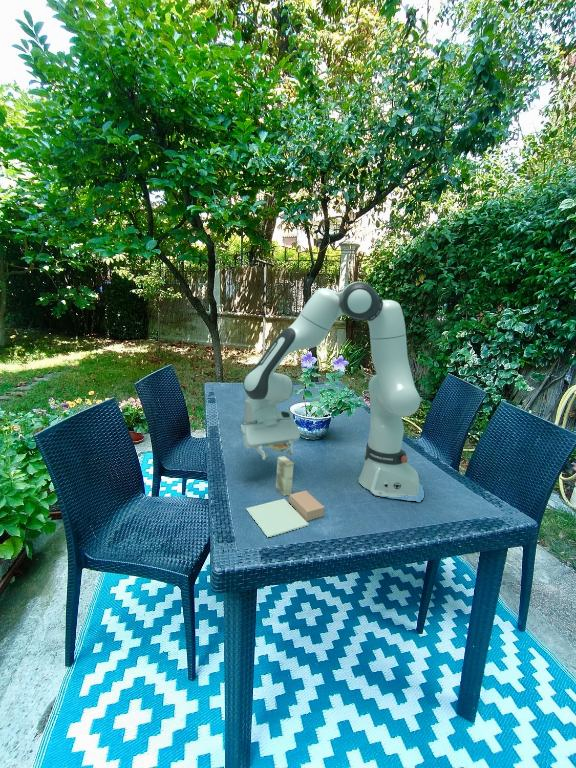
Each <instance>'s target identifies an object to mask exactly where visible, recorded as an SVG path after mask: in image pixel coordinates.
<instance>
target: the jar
mask: <svg viewBox="0 0 576 768" xmlns="http://www.w3.org/2000/svg"><path fill="white" fill-rule="evenodd" d="M243 413H244V414H243V423H244V422H250V421H254V418H253V414H252V408H251V406H250V404H249V401H248V397H247V396H246V398H244V412H243Z"/></svg>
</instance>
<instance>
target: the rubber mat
mask: <svg viewBox="0 0 576 768" xmlns="http://www.w3.org/2000/svg"><path fill="white" fill-rule="evenodd" d="M245 510H247V511H248V512H249V514H250V515H251V516H252V518H253V519H254V520H255V522H256V523H257V524H258V526H259V527H260V528H261V529H262V531H263V532H264V534H265V535H266V536H267V538H268V537H272V536H275V537H277V536H276V535H278V536H280V535H279V534H281V535H284V534H286V532H288V533H290V532H289V531H291V532H293V531H292V530H294V531H297V530H300V529H303V527H304V528H307V527H309V526H310V525H309V524H310V523H309V522H308V521H306V520H305V519H304V518H303V517H302V516H301V515H300V514H299V513H298V512H297V511H296V510H295V509H294V508H293V507H292V506H291V505H290V504H289V501H287V500H286V499H285V498H282V499H278V500H274V501H269V502H266V503H262V504H261V503H260V504H258V505H254V506H250V507H246V508H245ZM247 511H246V512H247ZM248 512H247V513H248ZM249 514H248V515H249ZM250 515H249V516H250ZM251 516H250V517H251ZM252 518H251V519H252ZM253 519H252V520H253ZM254 520H253V521H254ZM255 522H254V523H255ZM256 523H255V524H256ZM257 524H256V525H257ZM258 526H257V527H258ZM306 526H307V527H306ZM259 527H258V528H259ZM260 528H259V529H260ZM299 528H300V529H299ZM296 529H297V530H296ZM262 531H261V532H262ZM263 532H262V533H263ZM283 533H284V534H283ZM264 534H263V535H264ZM265 535H264V536H265ZM266 536H265V537H266ZM267 538H266V539H267ZM272 538H273V537H272ZM268 539H269V538H268Z"/></svg>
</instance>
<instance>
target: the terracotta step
mask: <svg viewBox="0 0 576 768" xmlns="http://www.w3.org/2000/svg"><path fill="white" fill-rule="evenodd" d="M288 497H289V498H288V503H290V504H291V506H293V507H294V508H295V509H296V511H297V512H298V513H299V514H300V515H301V517H302V518H303V519H304V520H305V521H306V522H309V521H312V519H313V520H315V518H316V519H319V518H322V516H323V517H324V513H325V506H324V505H323V504H321V502H319V501H318V500H317V499H316V498H315V497H314V496H313V495H311V494H310V492H308V491H307V490H302V491H299V492H294V493H291V494H290V495H288ZM318 517H319V518H318Z"/></svg>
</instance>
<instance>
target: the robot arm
mask: <svg viewBox="0 0 576 768" xmlns="http://www.w3.org/2000/svg"><path fill="white" fill-rule="evenodd" d="M344 315H345V316H348V317H350V318H352V319H354V320H360V321H361V320H362V321H366V322H367V325H368V328H369V339H370V350H371V352H370V353H371V361H372V364H373V366H374V370H375V373H376V374H374V375H373V376H372V377H371V378H370V380H369V382H368V386H367V389H368V392H369V408H370V409H369V410H370V411H369V412H370V426H369V427H370V428H369V435H368V442H367V444H366V446H365V452H364V464H363V465H362V466H363V468H362V469H361V473H360V475H359V477H358V479H359V481H358V483H360V484H361V485H362V486H363V487H365V488H367V489H369V490H370V491H371V492H372V493H373V494H374V495H378V496H389V497H401V496H402V495H403V496H404V495H408V496H417V495H418V493H419V482H420V477H419V474H418V471H417V470H416V469H415V468H414V467H413V466H411V465H410V463H408V461H409V460H408V459H409V458H408V456H407V453H406V450H405V449H402V446H403V445H402V444H403V438H404V433H405V427H404V423H403V418H406V417H410V416H412V415H414V414H415V413H416V412H417V411H418V409H419V408H420V404H421V396H420V394H419V392H418V390H417V388H416V386H415V382H414V377H413V375H412V374H413V373H412V371H411V367H410V366H411V365H410V362H409V358H408V345H407V330H406V323H405V316H404V314H403V309H402V306H401V305H400V303H399V302H397V301H396V300H391V299H382V298H381V297H380V295H379V294H378V292H377V291H376V290H375V288H374V287H373V286H371V285H370V284H369V283H367V282H365V281H354V282H351V283H349V284H347V285H346V286H345V287H343V288H342V289H341V290H339V291H335V290H333V289H330V288H325V287H322V288H321V287H320V288H319V289H317V290H315V292H314V293H313V294H312V295H311V297H310V298H309V299H308V301H307V302H306V303H305V305H304V307H303V308H302V310H301V311H300V313H299V315H298V316H297V318H296V319H295V320H294V321H293V322H292V324H291V325H290V326H288V327H287V328H285V329H283V330H282V331H281V332H279V334H278V335H277V336H276V338H275V339H274V340H273V341H272V343H271V344H270V345H269V347H268V348H267V349H266V351H265V352H264V354H263V355H262V357H261V358H260V359H259V360H258V362H257V363H256V364H255V365H254V366H253V368H251V370H249V372H247V374H246V375H245V377H244V379H243V389H244V391H245V394H246V398H247V397H248V401H249V404H250V406H251V408H252V414H253V418H254V421H250V422H244V421H243V423H241V425H240V430H241V433H242V437H243V444H244V447H245V448H246V449H247V450H251V449H255V450H256V452H257V453H258V454H259V455H261V458H262V460H267V459H269V455H268V452H265V451H264V450H263V448H265V447H268V446H271V445H278V444H284V443H286V445H287V446H288V449H285V450H286V451H285V452H286V454H287V456H292V455H293V454H294V450H293V445H294V443H296V442H297V441H298V440H299V439H300V438H301V433H300V430H299V427H298V424H297V423H296V422H295V421H294V419H292V418H293V414H292V413H291V412H289V411H284V410H282V409H281V410H280V409H277V405H278V404H280V403H284V402H285V401H286V400H288V399H290V397H291V396H292V394H293V391H294V383H293V381H292V378H291V377H290V376H289V375H287V374H284V373H278V372H275V371H276V370H277V368H278V367H279V366H280V365H281V363H282V362H283V360H284V359H285V358H286V357H287V356H288V355H289V354H291V353H293V352H296V351H301V350H307V349H313V348H315V347H318V346H319V345H320V344H321V343H322V342H323V341H324V340H325V338H326V337H327V336H328V334H329V332H330V331H331V329H332V327H333V326H334V325H335V322H336V321H337V319H339V318H341V316H344ZM360 484H359V485H360ZM361 485H360V486H361ZM362 486H361V487H362ZM363 487H362V488H363ZM365 488H364V489H365ZM379 493H381V494H379ZM398 495H399V496H398ZM400 495H401V496H400ZM403 496H402V497H403ZM406 497H407V496H406Z"/></svg>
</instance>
